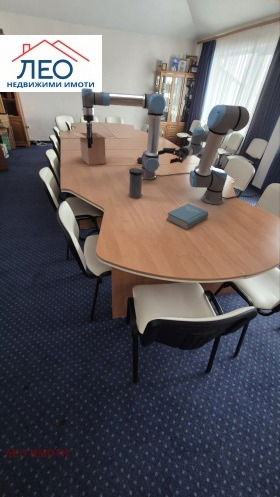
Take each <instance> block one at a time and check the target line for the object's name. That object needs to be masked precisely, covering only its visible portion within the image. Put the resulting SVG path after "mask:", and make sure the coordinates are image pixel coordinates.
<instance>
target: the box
mask: <svg viewBox="0 0 280 497" xmlns="http://www.w3.org/2000/svg"><path fill="white" fill-rule="evenodd" d="M92 132H93V135H92V136H93V144H92V148H88V140H87V139H86V137H87V130H77V132H76V131H70V133H71V134H72V135H74V136H75V137H77V138H79V144H80V153H81V160H83V162H85V163H86V165H87V166H95V165H97V166H98V165H106V163H107V162H106V158H107V157H106V138H113V137H114V136H113V135H111V134H109V133H108V132H105V131H98V132H96V131H95V130H93V129H92Z"/></svg>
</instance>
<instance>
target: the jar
mask: <svg viewBox="0 0 280 497" xmlns="http://www.w3.org/2000/svg"><path fill="white" fill-rule="evenodd" d="M142 175H143V174H142ZM142 175H131V174H130V173H129V184H128V197H129V198H132V199H140V198H141V197H142V188H143V179H142Z"/></svg>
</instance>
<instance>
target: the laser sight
mask: <svg viewBox="0 0 280 497" xmlns="http://www.w3.org/2000/svg"><path fill="white" fill-rule="evenodd" d="M142 159H143V154H141V156H140V157H139V156H138V157H137V159H136V161H137V164H140V165H142Z"/></svg>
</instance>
